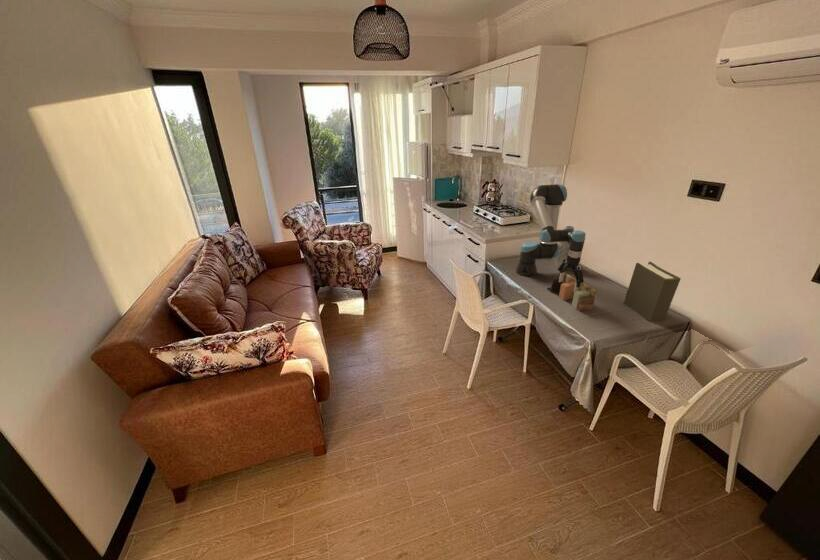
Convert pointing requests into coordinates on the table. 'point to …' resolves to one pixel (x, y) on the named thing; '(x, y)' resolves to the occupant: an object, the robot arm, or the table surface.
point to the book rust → (566, 291)
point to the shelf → (586, 301)
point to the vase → (562, 251)
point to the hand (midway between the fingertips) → (567, 286)
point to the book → (651, 291)
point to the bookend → (555, 285)
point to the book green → (579, 296)
